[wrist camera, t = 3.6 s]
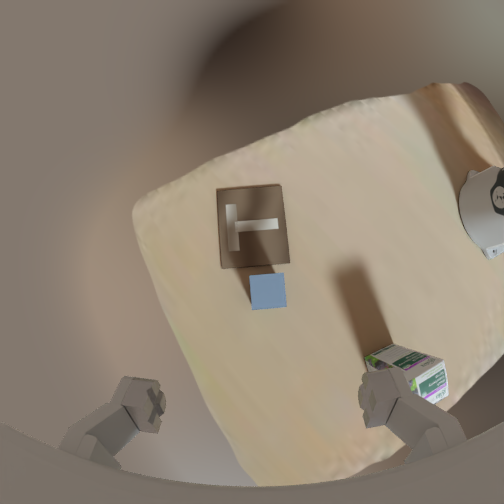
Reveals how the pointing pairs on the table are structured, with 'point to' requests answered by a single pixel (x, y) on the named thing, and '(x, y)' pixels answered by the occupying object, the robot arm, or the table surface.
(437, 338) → the table surface
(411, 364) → the syrup box
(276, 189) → the letter card
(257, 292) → the slate block
